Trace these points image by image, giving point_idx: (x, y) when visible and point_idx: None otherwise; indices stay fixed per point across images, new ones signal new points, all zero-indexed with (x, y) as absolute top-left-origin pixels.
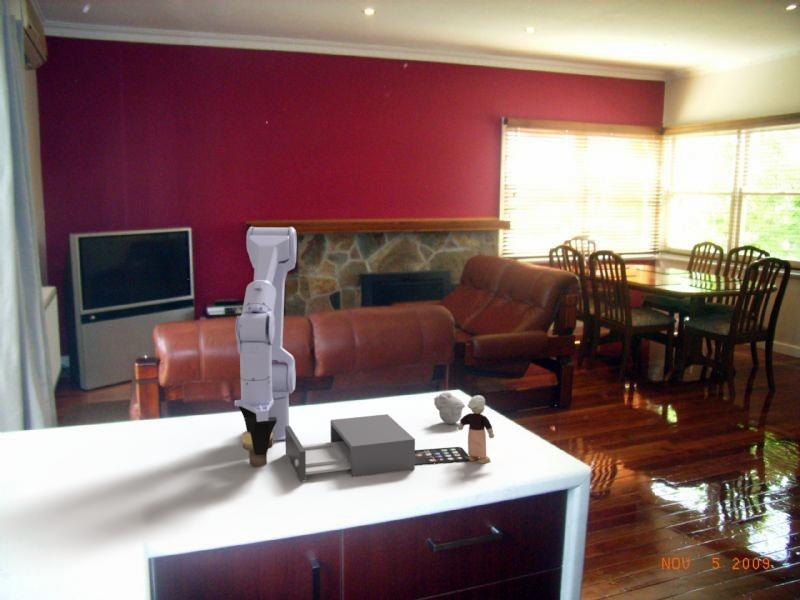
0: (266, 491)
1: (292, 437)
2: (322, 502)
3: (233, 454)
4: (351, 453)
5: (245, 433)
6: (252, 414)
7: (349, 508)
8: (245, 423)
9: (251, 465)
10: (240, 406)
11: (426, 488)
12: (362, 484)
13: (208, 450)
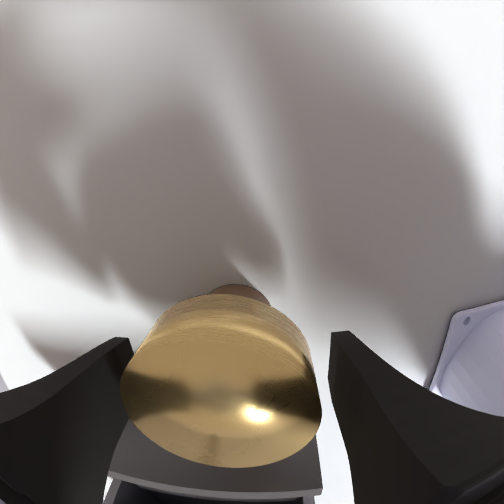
0: (29, 305)
1: (162, 484)
2: (19, 382)
3: (384, 220)
4: (110, 495)
5: (233, 364)
6: (379, 484)
7: None
8: (403, 382)
9: (213, 291)
10: (490, 479)
11: None
12: None
13: (449, 122)
